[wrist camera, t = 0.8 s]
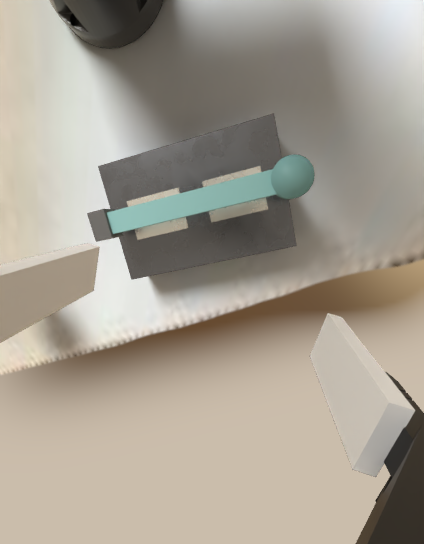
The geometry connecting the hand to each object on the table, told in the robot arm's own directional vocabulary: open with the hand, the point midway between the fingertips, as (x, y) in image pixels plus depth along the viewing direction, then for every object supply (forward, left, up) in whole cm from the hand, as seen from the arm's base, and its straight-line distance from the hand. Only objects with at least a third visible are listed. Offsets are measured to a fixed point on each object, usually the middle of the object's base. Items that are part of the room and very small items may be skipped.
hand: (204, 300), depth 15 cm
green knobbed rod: (-7, -2, -17) cm, 18 cm away
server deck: (-6, -3, -24) cm, 25 cm away
